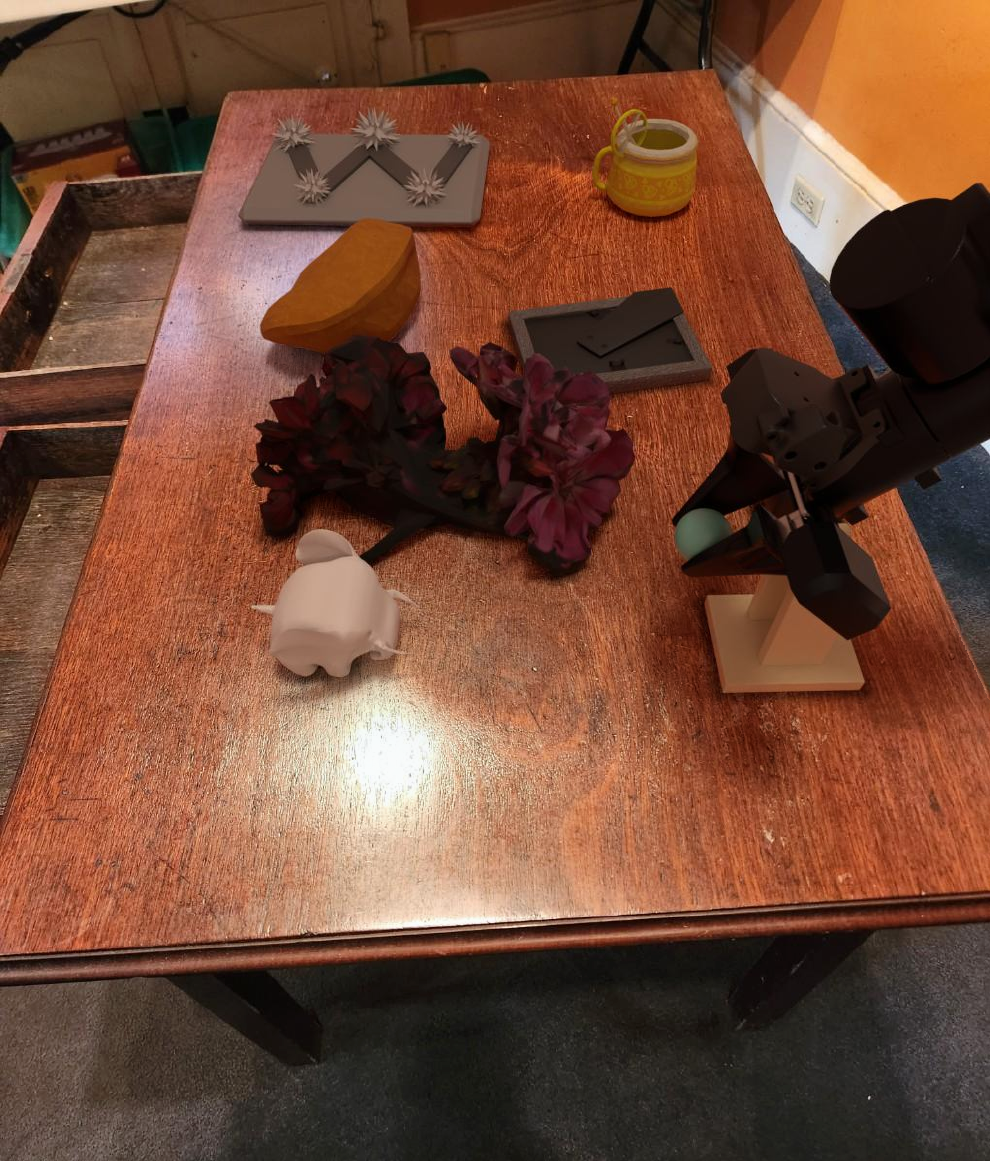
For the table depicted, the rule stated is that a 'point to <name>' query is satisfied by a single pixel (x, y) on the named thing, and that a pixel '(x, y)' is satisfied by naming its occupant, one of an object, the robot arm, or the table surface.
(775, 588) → the bracket
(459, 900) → the table surface
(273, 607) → the elephant figurine
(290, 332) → the bread
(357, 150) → the decorative plate
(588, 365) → the picture frame
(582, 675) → the table surface
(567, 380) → the flower arrangement
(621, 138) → the mug
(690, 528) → the lever
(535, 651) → the table surface
